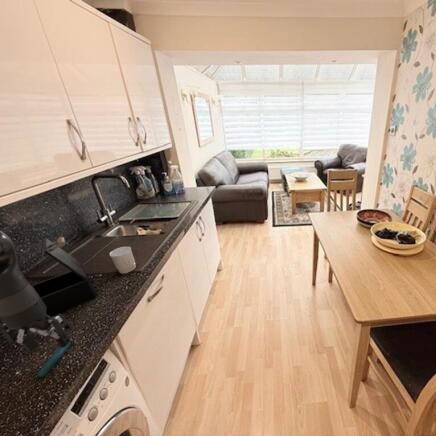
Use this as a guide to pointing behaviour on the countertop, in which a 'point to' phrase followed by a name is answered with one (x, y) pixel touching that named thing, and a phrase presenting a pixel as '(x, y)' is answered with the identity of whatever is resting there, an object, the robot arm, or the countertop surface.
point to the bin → (64, 292)
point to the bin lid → (63, 257)
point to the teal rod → (53, 360)
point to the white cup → (123, 259)
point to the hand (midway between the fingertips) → (50, 346)
